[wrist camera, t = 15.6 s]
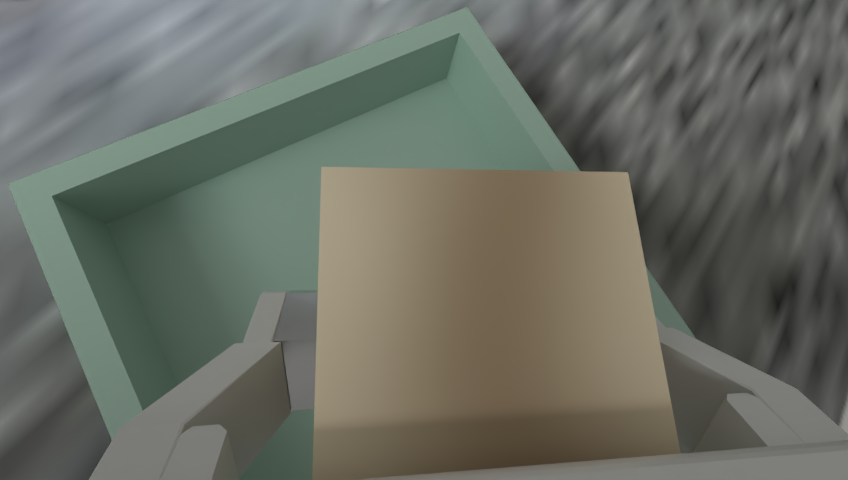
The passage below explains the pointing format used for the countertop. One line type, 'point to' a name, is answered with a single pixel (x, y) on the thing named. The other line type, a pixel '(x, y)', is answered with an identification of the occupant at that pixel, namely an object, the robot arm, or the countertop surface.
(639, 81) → the countertop surface
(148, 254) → the tray
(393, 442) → the maple block
